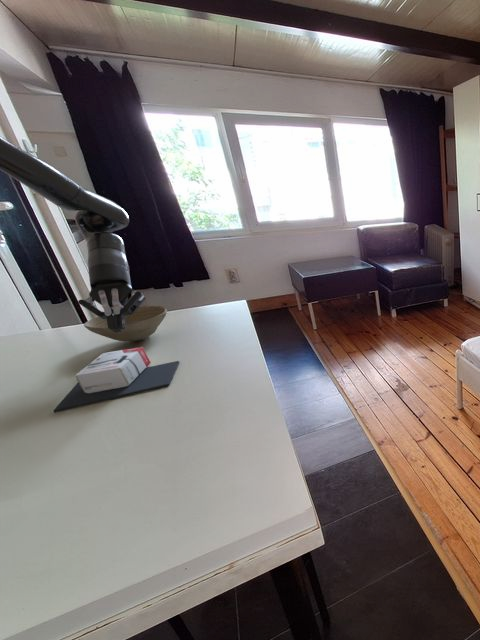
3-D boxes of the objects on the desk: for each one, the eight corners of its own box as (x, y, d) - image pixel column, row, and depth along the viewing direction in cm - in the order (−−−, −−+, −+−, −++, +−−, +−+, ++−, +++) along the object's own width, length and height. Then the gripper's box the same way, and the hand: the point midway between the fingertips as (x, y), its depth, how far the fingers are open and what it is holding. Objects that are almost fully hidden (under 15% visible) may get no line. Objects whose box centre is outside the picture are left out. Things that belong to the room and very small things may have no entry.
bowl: (178, 322, 120) (168, 300, 117) (173, 342, 106) (161, 317, 103) (105, 337, 112) (92, 313, 108) (90, 360, 98) (74, 333, 94)
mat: (54, 412, 76) (52, 410, 76) (79, 384, 87) (78, 381, 86) (169, 385, 84) (168, 383, 84) (179, 362, 94) (178, 360, 94)
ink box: (142, 345, 91) (119, 368, 81) (151, 362, 93) (130, 386, 83) (101, 352, 89) (72, 376, 79) (111, 369, 91) (84, 395, 81)
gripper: (65, 266, 87) (71, 330, 83) (133, 258, 93) (142, 318, 88) (85, 282, 94) (92, 342, 90) (148, 274, 99) (157, 331, 95)
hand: (117, 330), depth 89 cm, fingers closed
